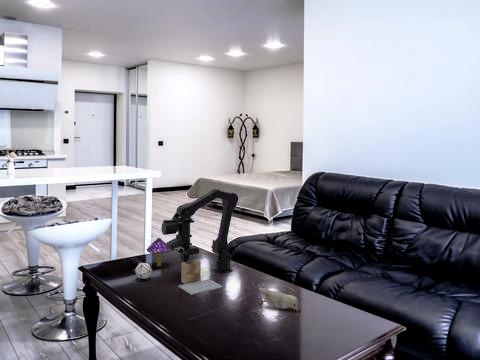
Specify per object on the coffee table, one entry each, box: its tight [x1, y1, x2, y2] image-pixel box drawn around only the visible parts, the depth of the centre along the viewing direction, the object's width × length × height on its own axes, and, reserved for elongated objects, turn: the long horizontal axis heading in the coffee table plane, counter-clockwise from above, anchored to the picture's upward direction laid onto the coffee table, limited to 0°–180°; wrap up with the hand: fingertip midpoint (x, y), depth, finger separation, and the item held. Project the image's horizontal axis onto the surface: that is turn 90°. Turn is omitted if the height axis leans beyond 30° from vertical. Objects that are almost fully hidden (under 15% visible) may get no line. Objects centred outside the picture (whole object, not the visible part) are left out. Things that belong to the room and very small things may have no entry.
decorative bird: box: [258, 287, 300, 312], centre depth 160 cm, size 5×16×8 cm, turn 71°
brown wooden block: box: [180, 259, 202, 285], centre depth 190 cm, size 8×4×9 cm, turn 125°
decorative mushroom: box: [146, 237, 171, 267], centre depth 211 cm, size 12×12×15 cm
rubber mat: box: [178, 278, 224, 296], centre depth 183 cm, size 16×12×1 cm
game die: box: [132, 261, 155, 281], centre depth 192 cm, size 9×8×10 cm
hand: (184, 264), depth 195 cm, fingers closed
